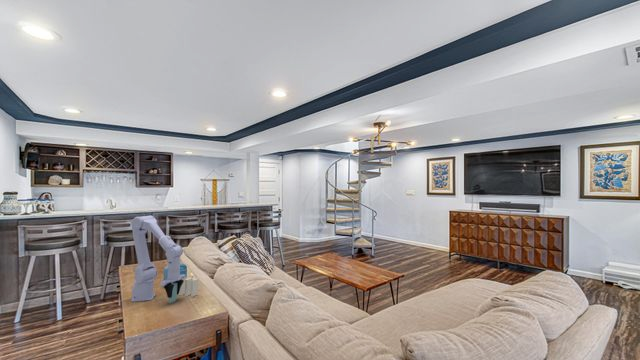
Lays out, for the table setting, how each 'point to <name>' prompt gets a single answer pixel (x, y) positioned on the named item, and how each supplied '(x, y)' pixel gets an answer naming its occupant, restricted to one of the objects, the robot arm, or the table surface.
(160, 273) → the table surface
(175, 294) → the teal domino
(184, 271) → the data package
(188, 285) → the domino
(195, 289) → the domino
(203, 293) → the table surface
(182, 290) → the domino
